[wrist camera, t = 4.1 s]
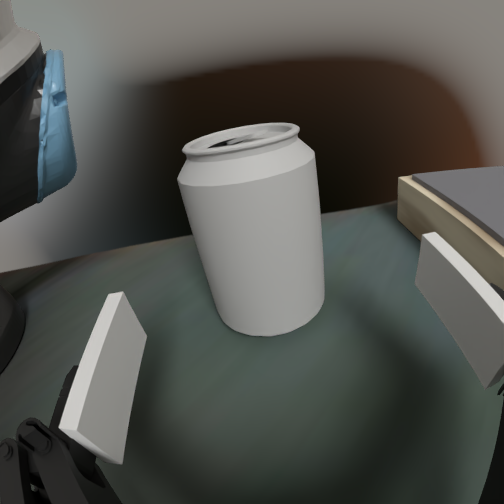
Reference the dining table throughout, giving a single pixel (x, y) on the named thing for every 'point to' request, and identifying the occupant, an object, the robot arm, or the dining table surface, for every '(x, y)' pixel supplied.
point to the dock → (459, 214)
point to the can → (257, 225)
